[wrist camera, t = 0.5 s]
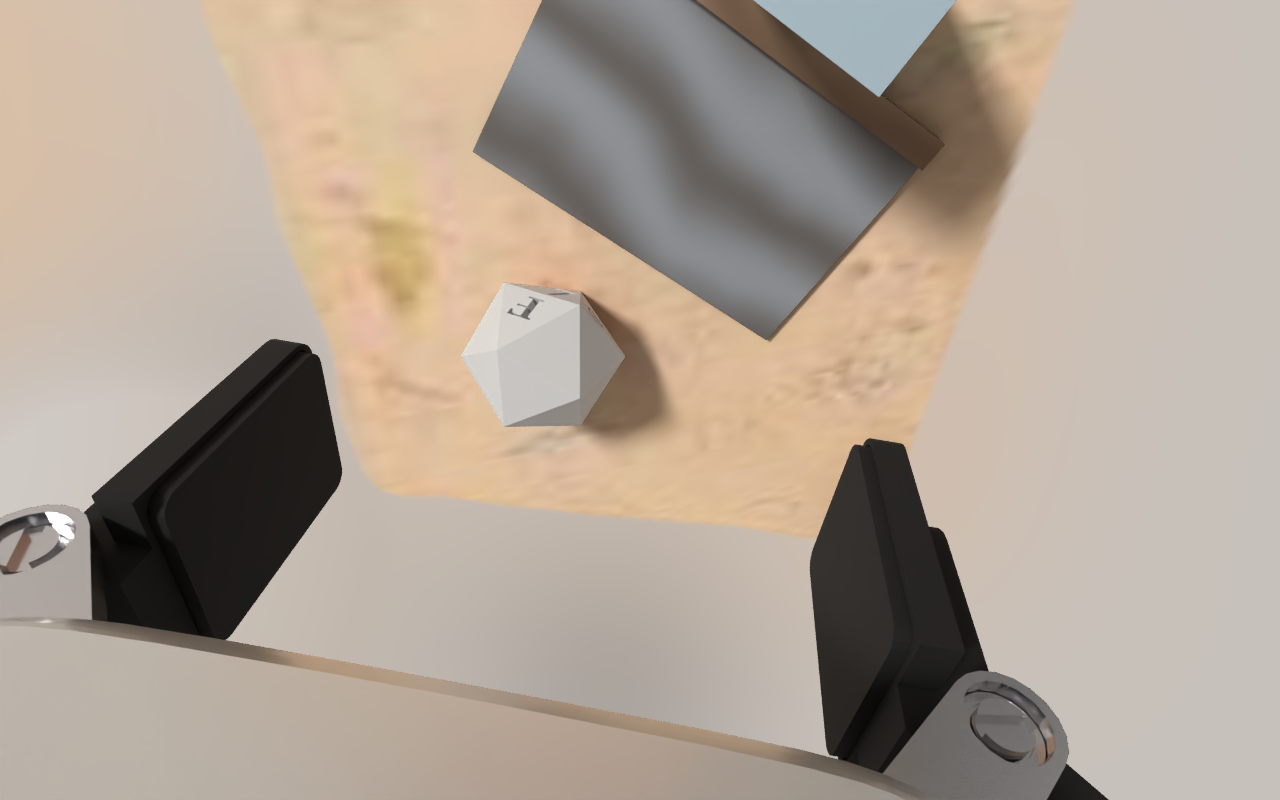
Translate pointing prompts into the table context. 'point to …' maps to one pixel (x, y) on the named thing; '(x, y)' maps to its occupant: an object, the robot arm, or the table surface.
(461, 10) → the table surface
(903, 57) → the tall block
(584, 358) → the die
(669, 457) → the table surface
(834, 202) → the mat
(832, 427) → the table surface
